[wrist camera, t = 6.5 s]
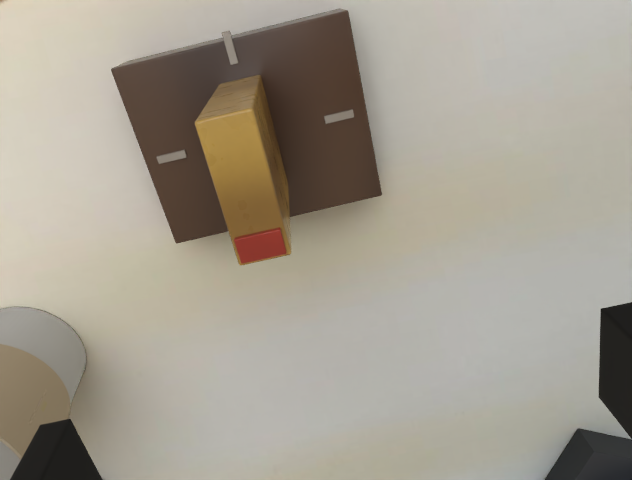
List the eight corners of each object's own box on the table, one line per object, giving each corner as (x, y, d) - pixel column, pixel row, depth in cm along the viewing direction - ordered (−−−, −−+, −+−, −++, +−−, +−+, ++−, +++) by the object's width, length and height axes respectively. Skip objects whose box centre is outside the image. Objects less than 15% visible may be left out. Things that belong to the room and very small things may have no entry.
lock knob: (218, 83, 25) (192, 123, 17) (260, 73, 25) (252, 109, 17) (249, 193, 27) (238, 269, 20) (288, 185, 27) (292, 258, 20)
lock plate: (339, 0, 27) (346, 1, 24) (374, 183, 31) (383, 203, 28) (124, 54, 27) (106, 61, 24) (186, 227, 31) (177, 251, 28)
